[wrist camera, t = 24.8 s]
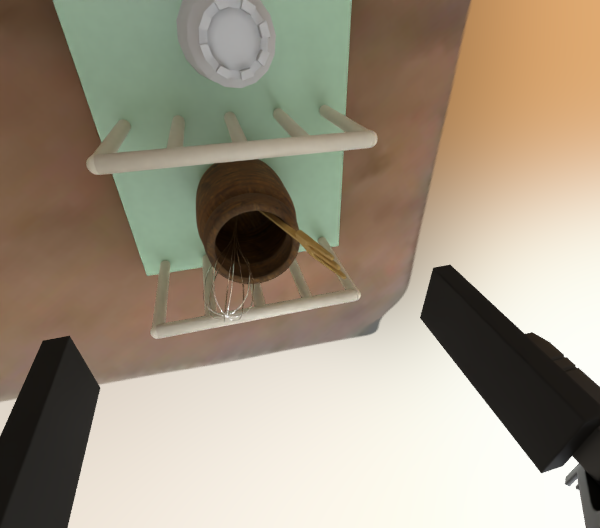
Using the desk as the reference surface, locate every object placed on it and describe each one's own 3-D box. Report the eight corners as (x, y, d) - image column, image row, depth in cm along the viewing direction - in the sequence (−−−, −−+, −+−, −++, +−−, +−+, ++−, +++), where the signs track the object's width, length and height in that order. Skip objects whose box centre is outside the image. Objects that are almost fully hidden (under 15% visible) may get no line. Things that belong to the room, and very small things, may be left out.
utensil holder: (175, 185, 22) (163, 305, 13) (256, 130, 22) (306, 213, 12) (229, 247, 26) (252, 377, 16) (300, 201, 25) (366, 308, 16)
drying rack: (21, -110, 15) (-120, -223, 8) (349, -94, 18) (446, -168, 11) (148, 268, 26) (133, 351, 20) (334, 240, 29) (377, 303, 22)
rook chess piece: (232, 99, 20) (251, 132, 14) (160, 42, 18) (143, 51, 12) (277, 29, 19) (321, 30, 13) (206, -43, 17) (215, -85, 10)
